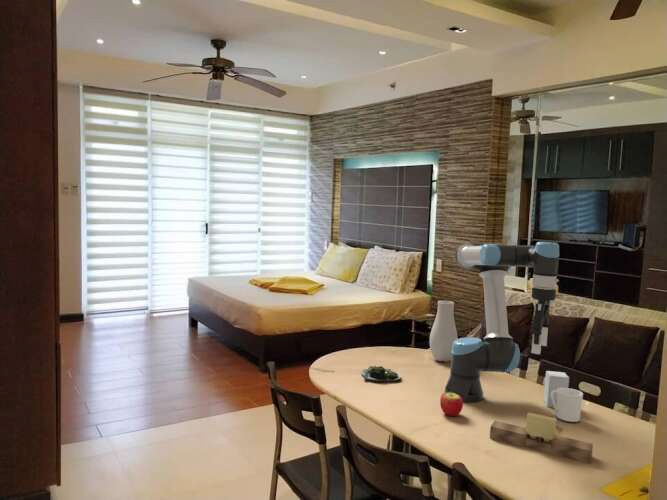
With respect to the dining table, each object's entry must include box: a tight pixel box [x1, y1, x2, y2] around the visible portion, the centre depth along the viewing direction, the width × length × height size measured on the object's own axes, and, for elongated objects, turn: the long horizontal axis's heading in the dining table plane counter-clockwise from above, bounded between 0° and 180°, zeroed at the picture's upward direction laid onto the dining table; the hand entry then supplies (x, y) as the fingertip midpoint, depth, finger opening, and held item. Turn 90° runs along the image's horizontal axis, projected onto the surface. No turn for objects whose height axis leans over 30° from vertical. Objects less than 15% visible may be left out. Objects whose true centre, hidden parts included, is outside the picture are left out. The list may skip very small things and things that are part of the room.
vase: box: [429, 300, 459, 363], centre depth 261 cm, size 14×14×30 cm
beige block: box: [525, 412, 558, 444], centre depth 166 cm, size 8×3×9 cm, turn 59°
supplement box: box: [543, 370, 570, 409], centre depth 206 cm, size 7×7×13 cm
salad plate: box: [360, 365, 402, 384], centre depth 232 cm, size 19×18×5 cm
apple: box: [439, 387, 464, 417], centre depth 190 cm, size 8×8×10 cm
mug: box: [551, 387, 584, 424], centre depth 192 cm, size 11×9×10 cm
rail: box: [489, 420, 594, 465], centre depth 167 cm, size 30×6×4 cm, turn 60°
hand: (539, 349), depth 177 cm, fingers open, 13 cm apart
